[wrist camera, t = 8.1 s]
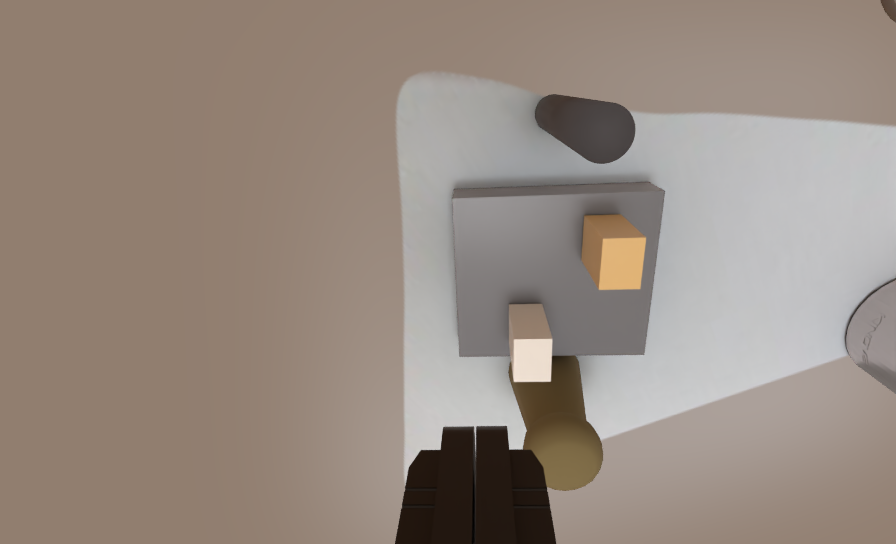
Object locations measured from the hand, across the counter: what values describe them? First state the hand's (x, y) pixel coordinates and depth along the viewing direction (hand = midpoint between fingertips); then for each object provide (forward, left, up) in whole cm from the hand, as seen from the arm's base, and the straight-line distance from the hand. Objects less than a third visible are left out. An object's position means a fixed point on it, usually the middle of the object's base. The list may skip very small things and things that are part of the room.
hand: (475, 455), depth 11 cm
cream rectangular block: (-3, +8, -22) cm, 24 cm away
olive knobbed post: (-5, +15, -26) cm, 30 cm away
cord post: (-5, -6, -25) cm, 27 cm away
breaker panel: (-5, +5, -25) cm, 26 cm away
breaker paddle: (-8, +2, -22) cm, 24 cm away
